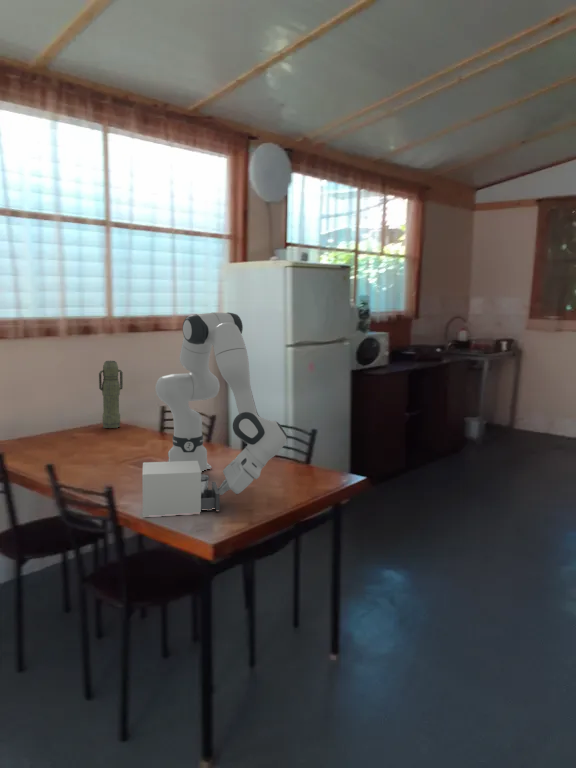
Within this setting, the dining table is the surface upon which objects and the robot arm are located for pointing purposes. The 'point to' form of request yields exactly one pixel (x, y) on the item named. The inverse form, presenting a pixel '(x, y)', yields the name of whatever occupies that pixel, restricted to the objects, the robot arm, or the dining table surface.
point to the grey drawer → (211, 498)
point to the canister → (204, 486)
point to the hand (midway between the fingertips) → (219, 492)
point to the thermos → (111, 394)
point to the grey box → (171, 487)
